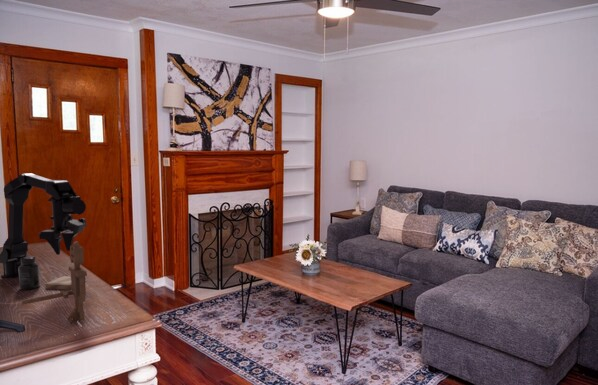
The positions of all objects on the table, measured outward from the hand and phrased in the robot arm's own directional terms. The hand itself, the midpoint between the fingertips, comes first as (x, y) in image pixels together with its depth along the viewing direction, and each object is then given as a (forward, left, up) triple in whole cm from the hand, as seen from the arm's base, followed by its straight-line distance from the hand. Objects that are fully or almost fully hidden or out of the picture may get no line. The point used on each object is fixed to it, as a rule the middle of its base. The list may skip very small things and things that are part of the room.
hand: (63, 252), depth 170 cm
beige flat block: (0, 0, -14) cm, 14 cm away
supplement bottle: (-12, -4, -13) cm, 18 cm away
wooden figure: (+22, -35, -13) cm, 44 cm away
